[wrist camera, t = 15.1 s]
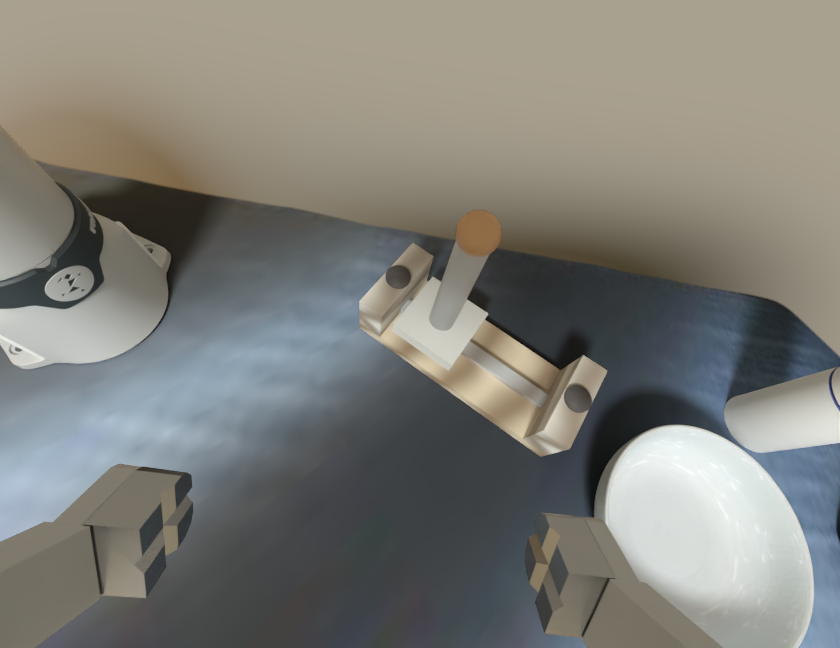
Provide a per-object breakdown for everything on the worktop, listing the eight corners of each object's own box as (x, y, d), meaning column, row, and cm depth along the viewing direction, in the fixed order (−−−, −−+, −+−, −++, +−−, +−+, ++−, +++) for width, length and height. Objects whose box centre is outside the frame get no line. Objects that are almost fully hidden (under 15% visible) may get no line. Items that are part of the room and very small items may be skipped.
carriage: (392, 331, 46) (410, 223, 28) (430, 284, 49) (468, 162, 31) (448, 371, 44) (504, 284, 27) (483, 320, 48) (554, 214, 30)
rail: (359, 327, 48) (359, 299, 42) (406, 274, 52) (413, 240, 46) (540, 456, 45) (571, 448, 38) (575, 388, 49) (609, 369, 42)
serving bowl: (570, 634, 38) (611, 659, 32) (569, 419, 47) (601, 407, 41) (770, 667, 39) (847, 698, 33) (732, 452, 48) (786, 444, 42)
